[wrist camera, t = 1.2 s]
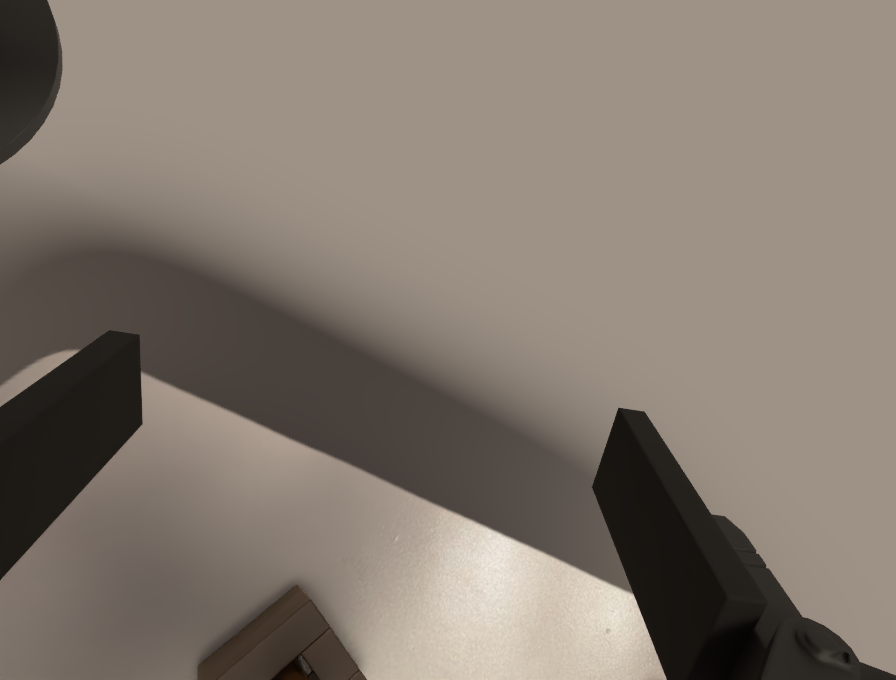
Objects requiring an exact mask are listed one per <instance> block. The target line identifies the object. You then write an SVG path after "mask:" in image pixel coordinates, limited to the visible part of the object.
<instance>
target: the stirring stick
mask: <svg viewBox="0 0 896 680" xmlns="http://www.w3.org/2000/svg"><path fill="white" fill-rule="evenodd" d="M271 680H309V678H308V676H307V674H306V672H305V671H304V669H303V667H302V665H301V663H300V661H299V659H298V657H296V658H295V659H294V660H293V661H292V662H290V663H289V664H288V665H287V666H286V667H285V668H284V669H283V670H281V671H280V672H279V673H278V674H277V675H276V676H275V677H274V678H272V679H271Z"/></svg>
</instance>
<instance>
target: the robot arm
mask: <svg viewBox="0 0 896 680" xmlns="http://www.w3.org/2000/svg"><path fill="white" fill-rule="evenodd" d="M141 425H142V397H141V368H140V339H139V335H137V334H130V333H124V332H117V331H110V330H109V331H108V332H106V333H105V334H103V335H102V336H101V337H99V338H98V339H96V340H95V341H93V342H92V343H91V344H89V345H88V346H86V347H85V348H83V349H82V350H81V351H79V352H78V353H76V354H75V355H74V356H72V357H71V358H69V359H68V360H66V361H65V362H64V363H62V364H61V365H59V366H58V367H57V368H55V369H54V370H52V371H51V372H49V373H48V374H47V375H45V376H44V377H42V378H41V379H39V380H38V381H37V382H35V383H34V384H32V385H31V386H30V387H28V388H27V389H25V390H24V391H22V392H21V393H20V394H18V395H17V396H15V397H14V398H12V399H11V400H10V401H8V402H7V403H5V404H4V405H3V406H1V407H0V580H1V579H2V578H3V576H4V575H5V574H6V573H7V572H8V571H9V570H10V569H11V568H12V567H13V566H14V564H15V563H16V562H17V561H18V560H19V559H20V558H21V557H22V556H23V555H24V553H25V552H26V551H27V550H28V549H29V548H30V547H31V546H32V545H33V544H34V542H35V541H36V540H37V539H38V538H39V537H40V536H41V535H42V534H43V533H44V531H45V530H46V529H47V528H48V527H49V526H50V525H51V524H52V523H53V522H54V521H55V519H56V518H57V517H58V516H59V515H60V514H61V513H62V512H63V511H64V510H65V508H66V507H67V506H68V505H69V504H70V503H71V502H72V501H73V500H74V499H75V497H76V496H77V495H78V494H79V493H80V492H81V491H82V490H83V489H84V488H85V487H86V485H87V484H88V483H89V482H90V481H91V480H92V479H93V478H94V477H95V476H96V474H97V473H98V472H99V471H100V470H101V469H102V468H103V467H104V466H105V465H106V463H107V462H108V461H109V460H110V459H111V458H112V457H113V456H114V455H115V454H116V453H117V451H118V450H119V449H120V448H121V447H122V446H123V445H124V444H125V443H126V442H127V440H128V439H129V438H130V437H131V436H132V435H133V434H134V433H135V432H136V431H137V429H138V428H139V427H140V426H141ZM592 488H593V491H594V493H595V495H596V498H597V501H598V504H599V506H600V509H601V511H602V514H603V516H604V519H605V521H606V524H607V526H608V529H609V532H610V534H611V537H612V540H613V542H614V545H615V547H616V550H617V552H618V555H619V558H620V560H621V563H622V565H623V568H624V570H625V573H626V576H627V578H628V581H629V583H630V586H631V588H632V591H633V594H634V596H635V599H636V601H637V604H638V606H639V609H640V612H641V614H642V617H643V619H644V622H645V624H646V627H647V629H648V632H649V635H650V637H651V640H652V642H653V645H654V647H655V650H656V653H657V655H658V658H659V660H660V663H661V665H662V668H663V671H664V673H665V676H666V678H667V680H896V675H893V674H890V673H888V672H885V671H882V670H880V669H877V668H874V667H872V666H869V665H866V664H864V663H861V662H859V660H858V658H857V657H856V655H855V654H854V652H853V651H852V649H851V648H850V647H849V646H848V645H847V644H846V643H845V642H844V641H843V640H842V639H841V638H840V637H839V636H838V635H837V634H835V633H834V632H832V631H831V630H830V629H828V628H827V627H825V626H824V625H821V624H819V623H817V622H815V621H813V620H811V619H808V618H803V617H802V615H801V614H800V613H799V611H798V610H797V609H796V607H795V605H794V604H793V603H792V601H791V600H790V598H789V597H788V596H787V594H786V593H785V591H784V590H783V588H782V587H781V585H780V584H779V583H778V581H777V580H776V578H775V577H774V575H773V574H772V572H771V571H770V570H769V569H767V568H766V564H765V562H764V561H763V560H762V558H761V557H760V555H759V554H756V549H755V548H754V547H753V545H752V544H751V542H750V541H749V539H748V538H747V537H746V535H745V534H744V533H743V532H742V531H741V530H740V529H739V528H738V527H737V526H735V525H734V524H733V523H732V522H731V521H730V520H728V519H727V518H726V517H725V516H718V515H711V513H710V512H709V510H708V509H707V508H706V506H705V504H704V502H703V501H702V499H701V498H700V496H699V495H698V493H697V492H696V490H695V489H694V487H693V486H692V484H691V482H690V481H689V479H688V478H687V476H686V475H685V473H684V472H683V470H682V469H681V467H680V465H679V464H678V462H677V461H676V460H675V458H674V456H673V455H672V453H671V452H670V450H669V449H668V447H667V445H666V444H665V442H664V441H663V439H662V438H661V436H660V435H659V433H658V432H657V430H656V429H655V427H654V426H653V424H652V423H651V421H650V419H649V418H648V416H647V415H646V413H645V412H642V411H636V410H629V409H623V408H618V411H617V414H616V417H615V420H614V423H613V426H612V429H611V432H610V435H609V438H608V441H607V444H606V447H605V450H604V453H603V456H602V459H601V462H600V465H599V468H598V471H597V474H596V477H595V480H594V483H593V486H592Z"/></svg>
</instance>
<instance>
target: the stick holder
mask: <svg viewBox="0 0 896 680" xmlns="http://www.w3.org/2000/svg"><path fill="white" fill-rule="evenodd" d="M299 654H301V655H302V656H303V658H304V659H305V660H306V662H307V663H308V665H309V666H310V668H311V669H312V670H313V672H312V673H311V674H310V675H309V676H308V678H309V680H367V679H366V678H365V676H364V675H363V674H362V672H361V671H360V669H359V668H358V666H357V665H356V663H355V662H354V661H353V659H352V658H351V656H350V655H349V653H348V652H347V651H346V649H345V648H344V646H343V645H342V643H341V642H340V640H339V639H338V638H337V636H336V635H335V633H334V632H333V630H332V629H331V628H330V626H329V625H328V623H327V622H326V620H325V619H324V617H323V616H322V615H321V613H320V612H319V610H318V609H317V607H316V606H315V605H314V603H313V602H312V600H311V599H310V598H309V597H308V596H307V595H306V593H305V592H304V591H303V590H302V589H301V588H300V587H299V585H296V586H295V587H293V588H292V589H291V590H290V591H289V592H287V593H286V594H285V595H284V596H282V597H281V598H280V599H279V600H278V601H276V602H275V603H274V604H273V605H272V606H270V607H269V608H268V609H267V610H265V611H264V612H263V613H262V614H261V615H259V616H258V617H257V618H256V619H255V620H253V621H252V622H251V623H250V624H248V625H247V626H246V627H245V628H244V629H242V630H241V631H240V632H239V633H238V634H236V635H235V636H234V637H233V638H231V639H230V640H229V641H228V642H227V643H225V644H224V645H223V646H222V647H221V648H219V649H218V650H217V651H216V652H214V653H213V654H212V655H211V656H210V657H208V658H207V659H206V660H205V661H204V662H202V663H201V664H200V665H199V666H198V680H271V679H272V678H274V677H275V676H276V675H277V674H278V673H279V672H280V671H281V670H283V669H284V668H285V667H286V666H287V665H288V664H289V663H290V662H292V661H293V660H294V659H295V658H296V657H297V656H298V655H299Z"/></svg>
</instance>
